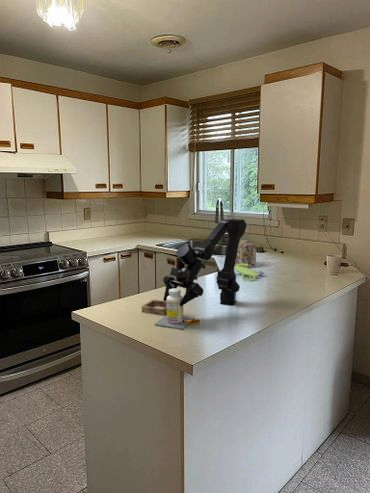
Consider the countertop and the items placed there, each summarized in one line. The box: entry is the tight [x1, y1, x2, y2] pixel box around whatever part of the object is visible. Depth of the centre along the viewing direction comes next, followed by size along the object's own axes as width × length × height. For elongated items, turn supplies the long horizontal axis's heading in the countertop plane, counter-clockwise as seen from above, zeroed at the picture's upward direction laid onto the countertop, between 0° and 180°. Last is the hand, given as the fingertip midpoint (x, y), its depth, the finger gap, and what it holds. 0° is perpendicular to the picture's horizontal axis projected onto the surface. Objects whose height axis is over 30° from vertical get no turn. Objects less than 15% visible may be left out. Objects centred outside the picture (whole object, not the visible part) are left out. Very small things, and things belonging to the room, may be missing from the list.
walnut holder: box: [141, 299, 167, 316], centre depth 165 cm, size 11×11×2 cm
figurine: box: [234, 264, 265, 282], centre depth 226 cm, size 18×27×6 cm
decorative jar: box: [235, 239, 257, 269], centre depth 248 cm, size 12×12×18 cm
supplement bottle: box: [166, 288, 185, 323], centre depth 149 cm, size 7×7×13 cm
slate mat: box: [154, 314, 195, 331], centre depth 150 cm, size 12×12×1 cm
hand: (172, 303), depth 148 cm, fingers open, 9 cm apart
